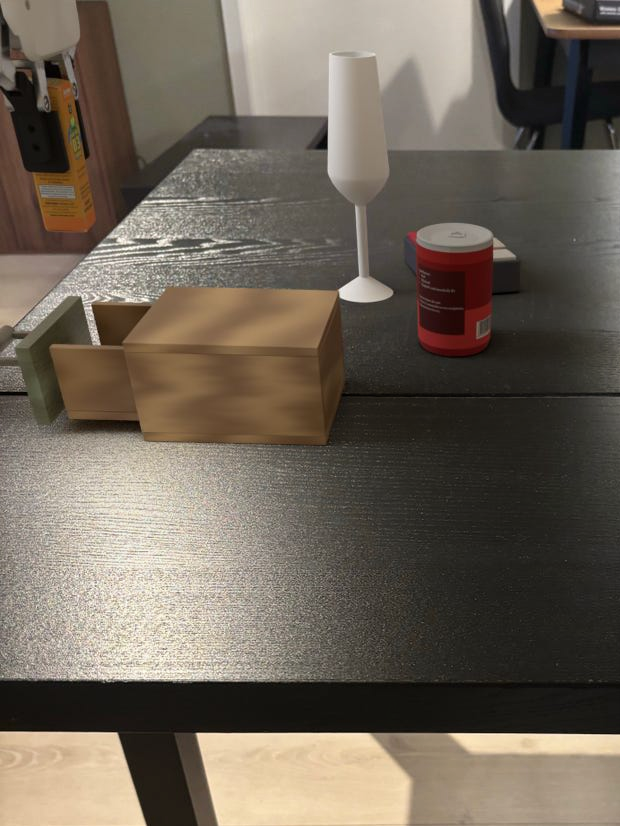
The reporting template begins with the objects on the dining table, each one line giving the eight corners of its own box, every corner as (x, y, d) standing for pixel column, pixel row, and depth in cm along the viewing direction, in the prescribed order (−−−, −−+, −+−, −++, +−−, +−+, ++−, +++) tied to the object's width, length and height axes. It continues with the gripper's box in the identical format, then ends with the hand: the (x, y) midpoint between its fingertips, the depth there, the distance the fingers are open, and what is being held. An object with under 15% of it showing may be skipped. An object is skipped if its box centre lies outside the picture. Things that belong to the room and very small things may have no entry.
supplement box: (91, 233, 72) (58, 84, 66) (45, 233, 72) (7, 83, 66) (101, 220, 75) (70, 76, 69) (57, 220, 75) (22, 75, 68)
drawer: (-31, 423, 80) (-57, 345, 75) (26, 365, 89) (5, 293, 85) (207, 429, 80) (193, 352, 76) (237, 371, 90) (227, 299, 85)
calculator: (486, 225, 120) (521, 253, 109) (486, 260, 123) (520, 291, 111) (402, 229, 118) (429, 259, 106) (404, 265, 120) (430, 298, 109)
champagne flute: (325, 296, 109) (306, 55, 94) (355, 279, 114) (341, 47, 99) (375, 306, 107) (363, 60, 92) (403, 289, 112) (397, 53, 97)
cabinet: (143, 440, 80) (121, 342, 75) (184, 376, 91) (167, 286, 85) (326, 445, 80) (317, 347, 75) (345, 380, 91) (339, 290, 85)
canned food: (483, 327, 102) (486, 221, 95) (497, 356, 96) (501, 244, 89) (413, 330, 101) (411, 223, 94) (422, 359, 95) (421, 246, 88)
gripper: (-18, -151, 66) (50, 140, 77) (-145, -160, 53) (-41, 191, 64) (89, -147, 66) (141, 143, 77) (-11, -156, 53) (69, 194, 64)
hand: (58, 162), depth 71 cm, fingers closed on supplement box, 3 cm apart
